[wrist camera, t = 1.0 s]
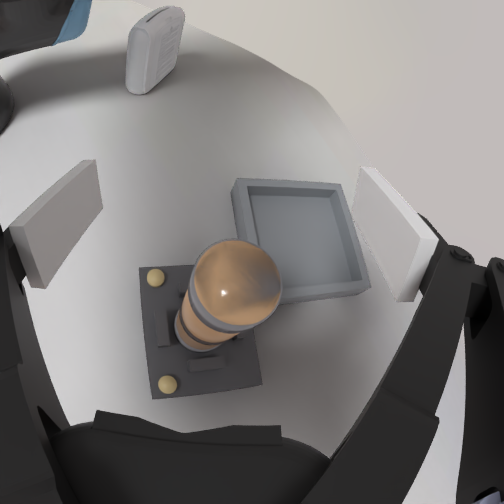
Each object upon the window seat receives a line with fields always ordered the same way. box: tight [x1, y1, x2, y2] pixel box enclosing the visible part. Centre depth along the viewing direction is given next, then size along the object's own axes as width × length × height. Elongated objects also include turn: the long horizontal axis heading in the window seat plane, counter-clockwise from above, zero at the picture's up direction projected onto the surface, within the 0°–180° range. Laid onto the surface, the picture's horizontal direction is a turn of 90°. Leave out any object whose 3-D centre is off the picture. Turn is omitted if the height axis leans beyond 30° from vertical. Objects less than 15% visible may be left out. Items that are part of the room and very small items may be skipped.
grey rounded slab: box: [125, 6, 185, 94], centre depth 37 cm, size 10×4×12 cm, turn 160°
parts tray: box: [231, 178, 371, 305], centre depth 37 cm, size 14×14×3 cm
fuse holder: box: [139, 265, 263, 399], centre depth 29 cm, size 12×10×5 cm
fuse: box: [174, 239, 282, 353], centre depth 22 cm, size 5×5×14 cm
